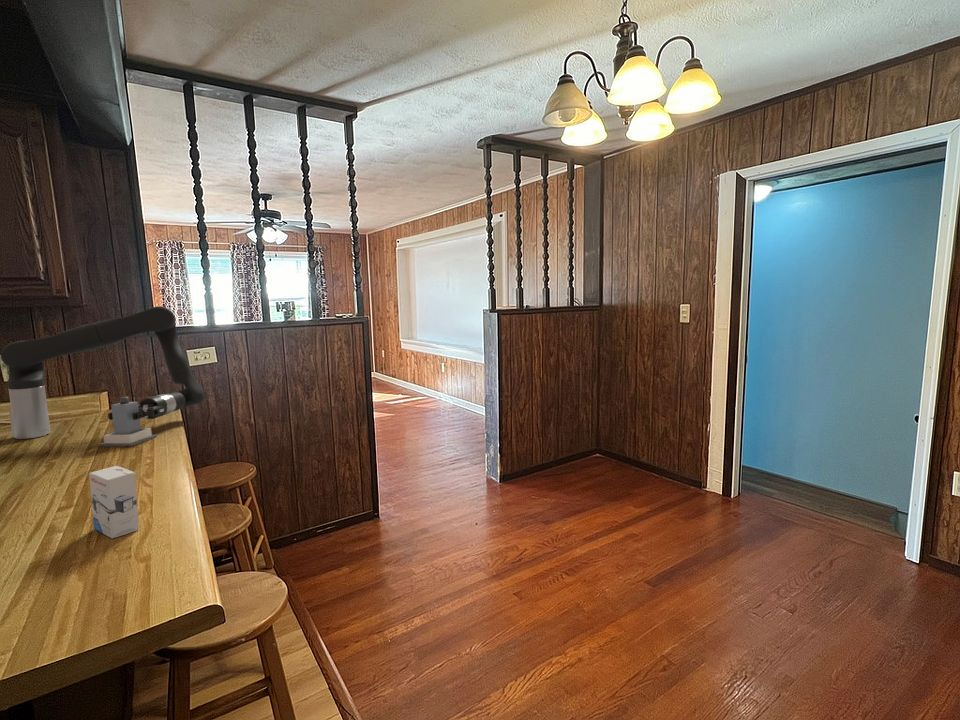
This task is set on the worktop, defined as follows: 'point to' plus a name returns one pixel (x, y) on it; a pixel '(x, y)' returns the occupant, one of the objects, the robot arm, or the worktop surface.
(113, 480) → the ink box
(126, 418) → the grey-blue square bottle
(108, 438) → the socket block
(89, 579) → the worktop surface
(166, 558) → the worktop surface
